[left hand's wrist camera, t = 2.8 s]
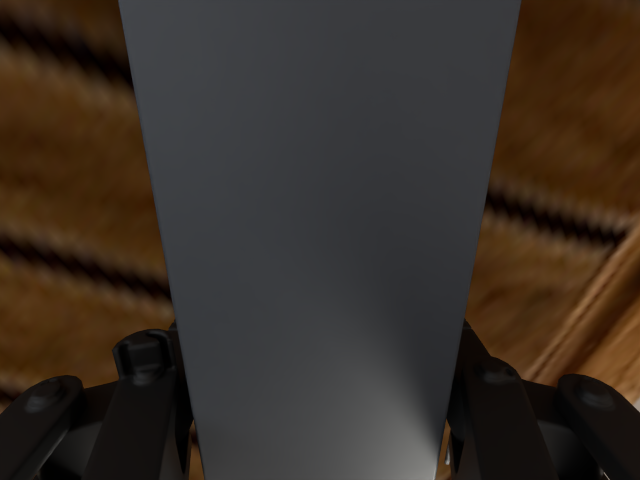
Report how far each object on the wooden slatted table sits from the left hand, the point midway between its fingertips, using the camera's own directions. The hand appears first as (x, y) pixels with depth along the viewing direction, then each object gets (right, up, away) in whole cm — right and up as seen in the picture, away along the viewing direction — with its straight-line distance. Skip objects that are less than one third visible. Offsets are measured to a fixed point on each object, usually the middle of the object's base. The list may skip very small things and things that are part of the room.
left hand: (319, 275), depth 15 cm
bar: (0, +9, -3) cm, 9 cm away
